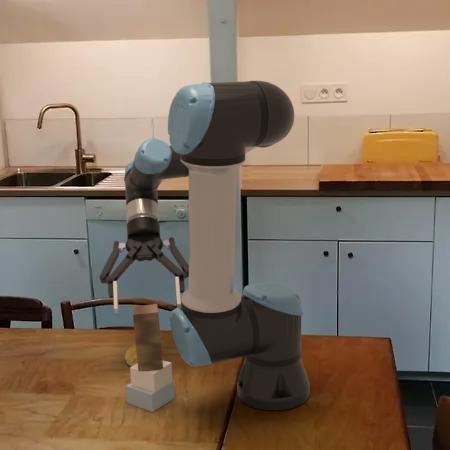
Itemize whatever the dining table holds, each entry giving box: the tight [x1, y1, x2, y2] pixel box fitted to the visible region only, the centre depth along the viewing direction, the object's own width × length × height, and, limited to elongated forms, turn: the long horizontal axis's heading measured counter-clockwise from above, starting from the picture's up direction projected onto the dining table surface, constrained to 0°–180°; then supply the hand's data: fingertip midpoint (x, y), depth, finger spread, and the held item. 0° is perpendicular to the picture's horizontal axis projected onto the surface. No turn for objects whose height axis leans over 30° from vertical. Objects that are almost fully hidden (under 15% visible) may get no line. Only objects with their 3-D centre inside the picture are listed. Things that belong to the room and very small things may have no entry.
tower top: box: [129, 360, 173, 393], centre depth 144 cm, size 6×6×4 cm
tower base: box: [125, 380, 176, 413], centre depth 145 cm, size 7×7×4 cm
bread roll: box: [124, 343, 138, 367], centre depth 164 cm, size 8×9×4 cm
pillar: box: [132, 303, 164, 371], centre depth 142 cm, size 5×5×12 cm
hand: (147, 308), depth 153 cm, fingers open, 13 cm apart
